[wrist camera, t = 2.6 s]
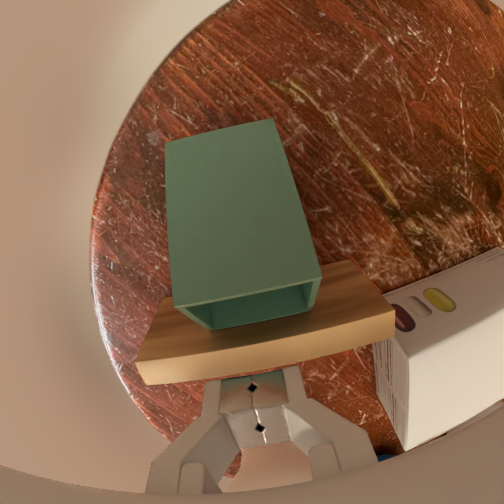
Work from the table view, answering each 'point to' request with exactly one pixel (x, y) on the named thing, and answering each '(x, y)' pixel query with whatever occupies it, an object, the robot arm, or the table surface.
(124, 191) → the table surface
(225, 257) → the green rectangular container
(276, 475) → the cup
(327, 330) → the stepped wooden molding
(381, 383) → the supplement box
